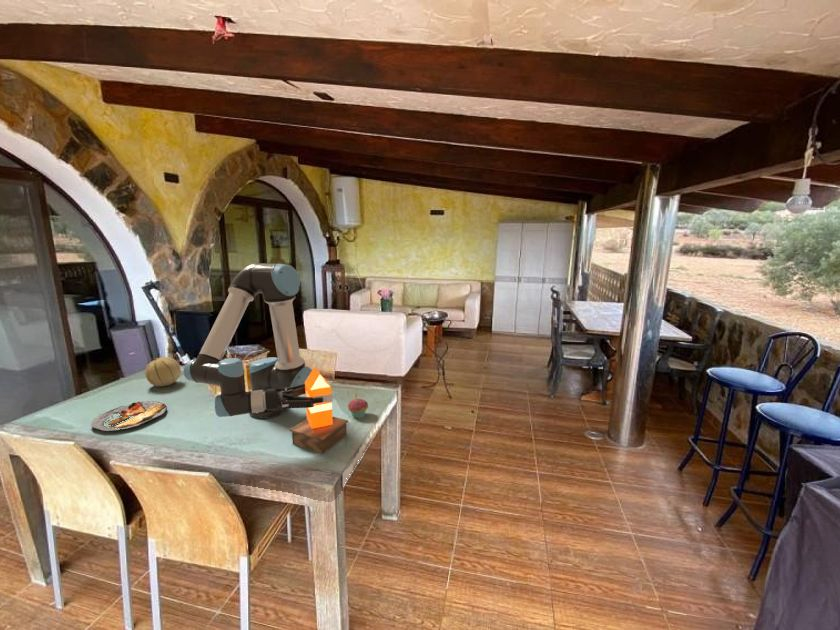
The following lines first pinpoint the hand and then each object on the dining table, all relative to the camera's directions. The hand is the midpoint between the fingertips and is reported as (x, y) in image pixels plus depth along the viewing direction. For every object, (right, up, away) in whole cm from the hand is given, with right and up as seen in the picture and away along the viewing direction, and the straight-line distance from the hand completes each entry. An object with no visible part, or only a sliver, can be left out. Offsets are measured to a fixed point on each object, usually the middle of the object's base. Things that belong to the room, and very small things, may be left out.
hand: (330, 392), depth 142 cm
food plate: (-86, -15, +17) cm, 89 cm away
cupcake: (+7, -15, +22) cm, 27 cm away
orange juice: (-4, -11, +1) cm, 12 cm away
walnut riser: (-4, -18, +2) cm, 19 cm away
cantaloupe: (-95, -7, +52) cm, 109 cm away
